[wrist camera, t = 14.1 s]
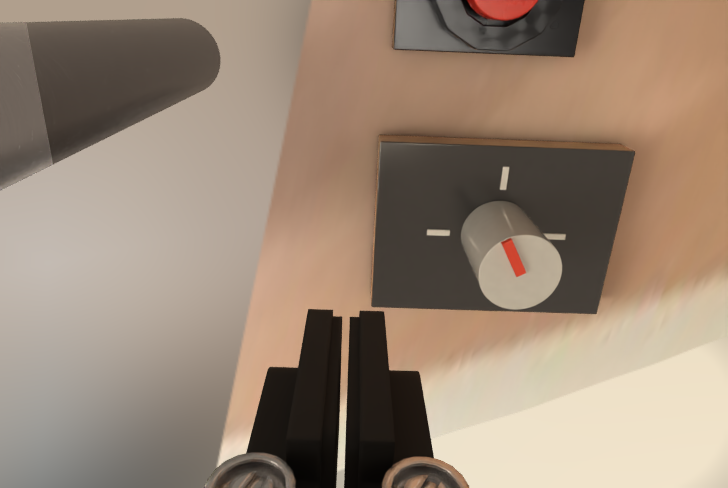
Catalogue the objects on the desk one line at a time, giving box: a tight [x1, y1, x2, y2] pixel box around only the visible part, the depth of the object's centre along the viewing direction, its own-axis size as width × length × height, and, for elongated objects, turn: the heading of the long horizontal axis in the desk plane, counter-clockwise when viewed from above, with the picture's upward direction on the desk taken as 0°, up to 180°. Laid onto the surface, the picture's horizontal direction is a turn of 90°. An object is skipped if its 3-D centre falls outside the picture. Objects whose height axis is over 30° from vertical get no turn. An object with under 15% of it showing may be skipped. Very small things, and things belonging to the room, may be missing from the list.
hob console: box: [371, 135, 635, 314], centre depth 34 cm, size 15×11×2 cm
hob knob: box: [461, 201, 562, 310], centre depth 31 cm, size 4×4×6 cm
